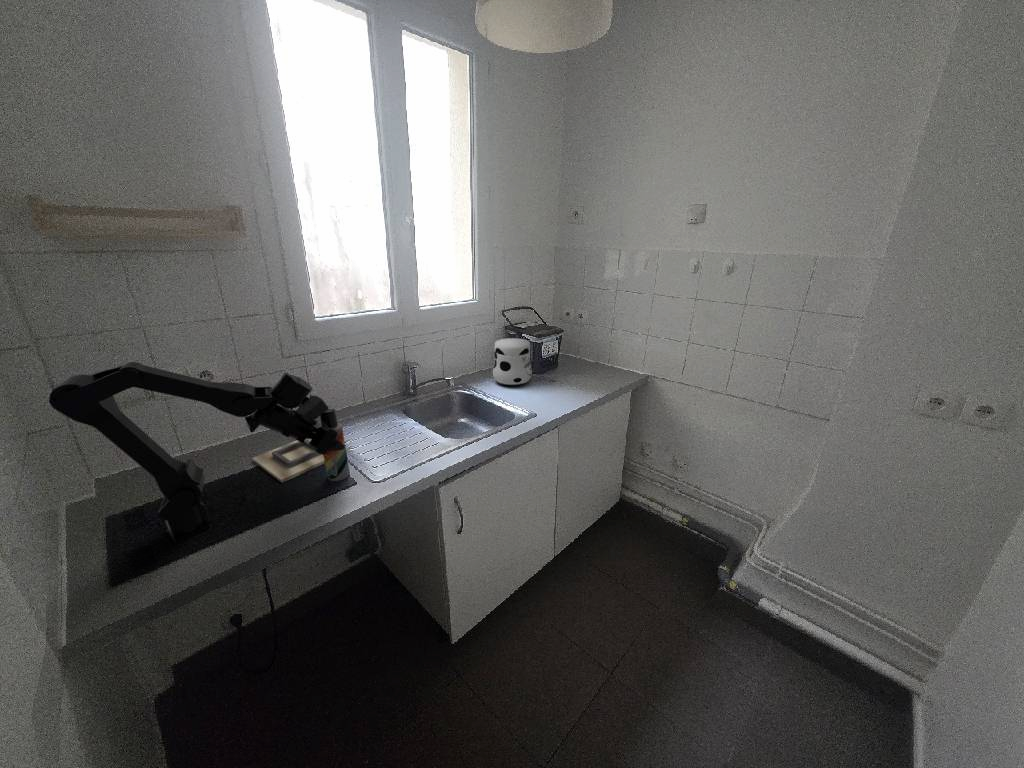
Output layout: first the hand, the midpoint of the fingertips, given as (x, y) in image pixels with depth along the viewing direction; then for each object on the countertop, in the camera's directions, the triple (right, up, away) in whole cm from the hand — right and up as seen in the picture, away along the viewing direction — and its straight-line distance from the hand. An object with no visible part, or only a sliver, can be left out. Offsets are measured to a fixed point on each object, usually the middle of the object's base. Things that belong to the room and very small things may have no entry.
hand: (334, 442), depth 106 cm
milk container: (+48, +16, +72) cm, 88 cm away
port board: (-16, -6, +12) cm, 21 cm away
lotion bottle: (0, -10, +4) cm, 11 cm away
